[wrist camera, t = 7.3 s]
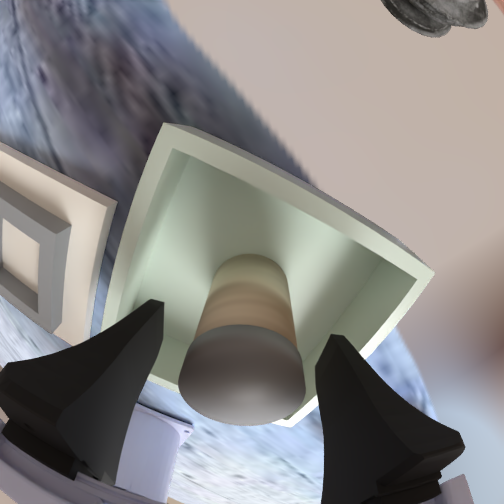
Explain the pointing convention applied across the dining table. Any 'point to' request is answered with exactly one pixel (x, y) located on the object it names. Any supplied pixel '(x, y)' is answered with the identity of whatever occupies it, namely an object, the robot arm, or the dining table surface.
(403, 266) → the bin
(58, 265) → the square socket plate
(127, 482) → the robot arm
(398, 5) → the salt shaker
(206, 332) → the strut
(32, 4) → the dining table surface
